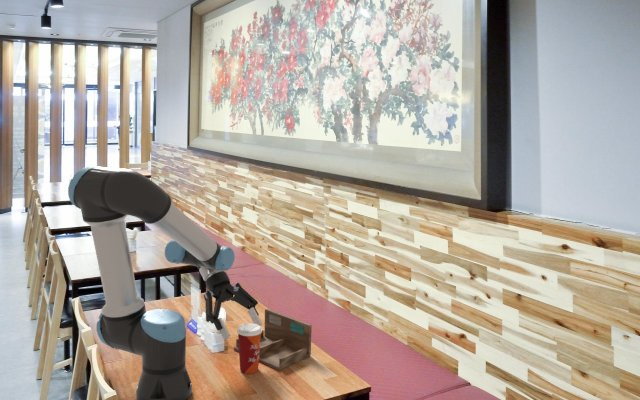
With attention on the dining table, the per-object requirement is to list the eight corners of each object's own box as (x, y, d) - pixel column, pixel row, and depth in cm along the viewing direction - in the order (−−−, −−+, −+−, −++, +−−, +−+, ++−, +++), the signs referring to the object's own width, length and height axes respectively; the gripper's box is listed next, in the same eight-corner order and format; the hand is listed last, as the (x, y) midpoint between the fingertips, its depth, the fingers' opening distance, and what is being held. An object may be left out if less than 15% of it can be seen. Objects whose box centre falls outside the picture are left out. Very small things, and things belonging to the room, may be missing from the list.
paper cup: (256, 376, 161) (257, 333, 159) (233, 373, 163) (233, 330, 161) (264, 365, 169) (265, 323, 167) (241, 362, 170) (242, 321, 168)
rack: (278, 370, 166) (279, 337, 164) (233, 349, 180) (234, 318, 178) (310, 356, 177) (311, 324, 175) (266, 337, 191) (266, 308, 190)
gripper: (238, 274, 188) (266, 327, 181) (178, 290, 169) (207, 349, 162) (248, 263, 184) (277, 316, 176) (188, 278, 165) (218, 337, 158)
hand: (244, 332), depth 169 cm, fingers open, 13 cm apart
